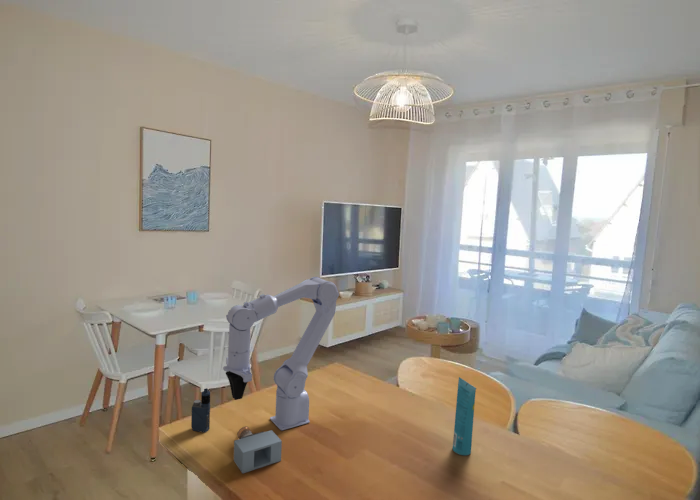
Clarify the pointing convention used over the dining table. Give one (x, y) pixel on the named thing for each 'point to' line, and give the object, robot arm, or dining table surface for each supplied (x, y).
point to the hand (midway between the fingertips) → (237, 397)
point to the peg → (244, 432)
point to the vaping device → (201, 413)
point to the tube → (464, 418)
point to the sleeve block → (257, 451)
